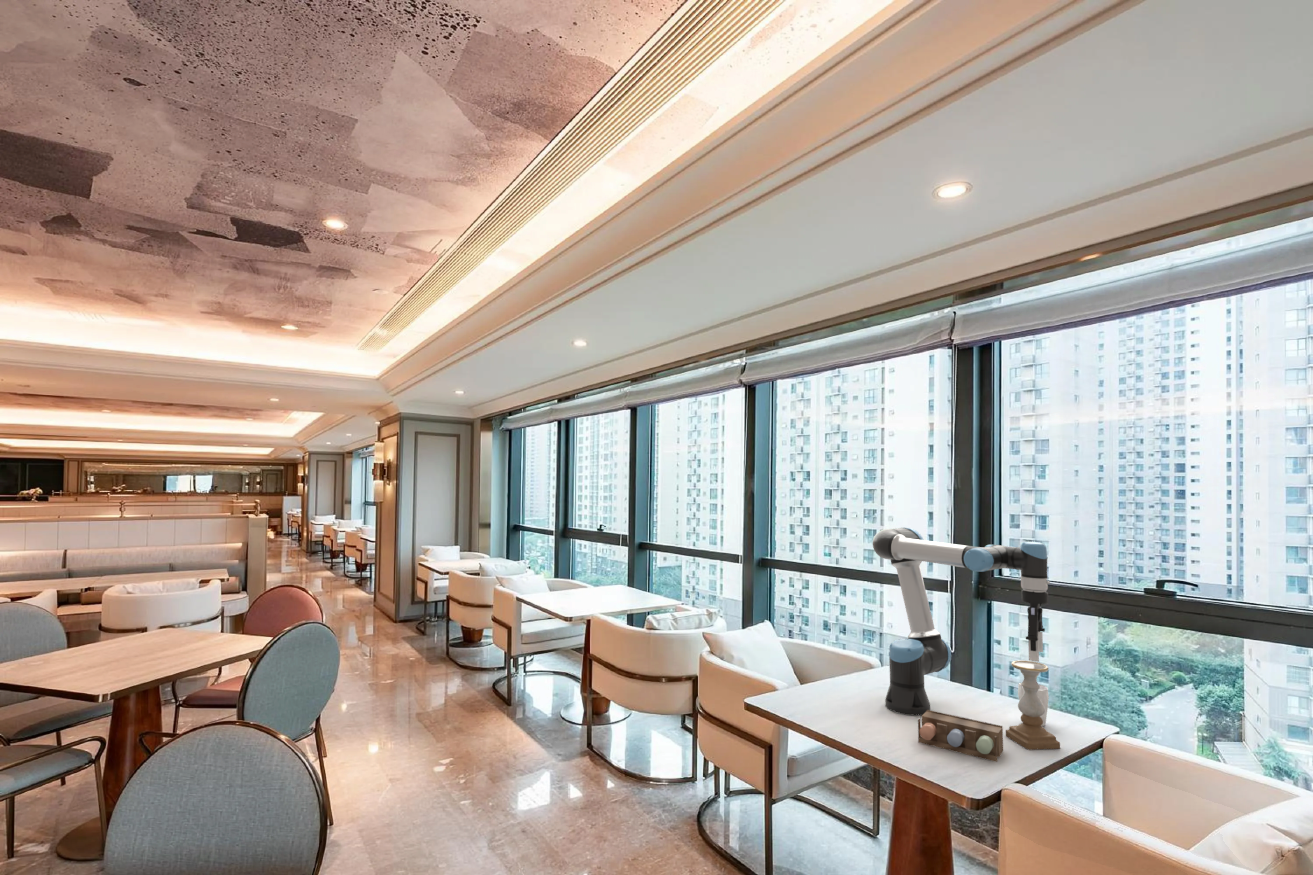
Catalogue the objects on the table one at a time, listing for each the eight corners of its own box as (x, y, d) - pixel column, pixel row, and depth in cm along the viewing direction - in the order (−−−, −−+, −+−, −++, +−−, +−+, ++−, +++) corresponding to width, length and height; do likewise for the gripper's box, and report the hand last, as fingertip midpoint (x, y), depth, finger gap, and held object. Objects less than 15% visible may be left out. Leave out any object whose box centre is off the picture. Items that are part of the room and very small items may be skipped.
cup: (1054, 728, 210) (1052, 691, 211) (1024, 726, 212) (1023, 689, 213) (1043, 718, 219) (1042, 683, 220) (1015, 716, 221) (1013, 681, 221)
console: (918, 742, 198) (917, 718, 199) (927, 732, 206) (926, 709, 207) (996, 761, 185) (995, 736, 185) (1003, 750, 193) (1002, 725, 193)
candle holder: (1004, 735, 204) (1002, 660, 206) (1037, 734, 205) (1034, 659, 207) (1027, 749, 193) (1024, 670, 195) (1061, 748, 194) (1058, 669, 196)
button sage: (976, 751, 186) (975, 737, 187) (979, 747, 189) (978, 733, 190) (991, 755, 184) (990, 741, 184) (993, 751, 187) (993, 737, 187)
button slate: (947, 744, 191) (946, 731, 192) (950, 740, 194) (950, 727, 195) (961, 748, 189) (961, 734, 189) (964, 744, 192) (964, 730, 192)
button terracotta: (919, 738, 196) (919, 724, 196) (923, 734, 199) (923, 721, 200) (933, 741, 194) (932, 728, 194) (936, 737, 197) (936, 724, 197)
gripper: (1044, 597, 195) (1046, 667, 194) (1051, 586, 215) (1052, 649, 214) (1016, 594, 199) (1018, 662, 198) (1025, 583, 219) (1027, 645, 218)
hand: (1036, 656), depth 206 cm, fingers open, 13 cm apart
